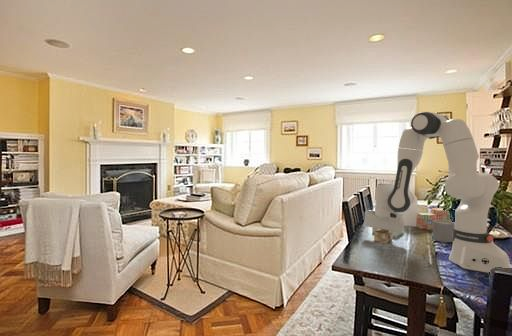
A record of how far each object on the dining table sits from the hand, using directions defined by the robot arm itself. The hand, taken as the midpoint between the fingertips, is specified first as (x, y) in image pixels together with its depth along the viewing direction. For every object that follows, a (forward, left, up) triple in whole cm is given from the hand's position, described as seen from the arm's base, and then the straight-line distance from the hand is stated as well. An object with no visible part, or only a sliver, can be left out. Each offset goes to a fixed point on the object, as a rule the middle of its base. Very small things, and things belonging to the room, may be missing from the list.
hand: (383, 237), depth 152 cm
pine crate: (0, 0, -2) cm, 2 cm away
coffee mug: (-25, -25, -2) cm, 35 cm away
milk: (+2, -48, -2) cm, 48 cm away
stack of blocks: (-15, -49, -2) cm, 51 cm away
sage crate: (+3, -16, -2) cm, 16 cm away
